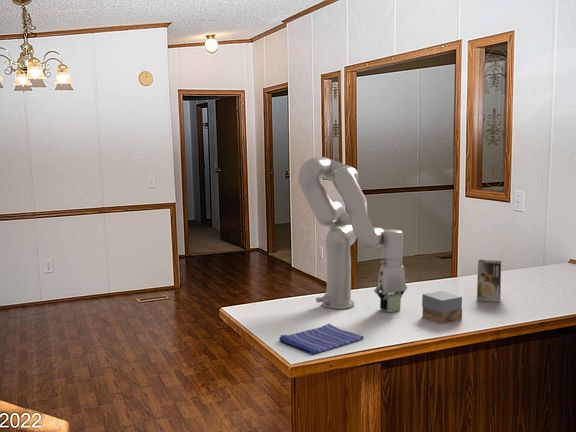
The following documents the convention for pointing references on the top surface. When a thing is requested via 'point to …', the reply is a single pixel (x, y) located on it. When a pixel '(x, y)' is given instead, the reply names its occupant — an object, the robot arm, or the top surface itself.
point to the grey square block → (442, 301)
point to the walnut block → (442, 315)
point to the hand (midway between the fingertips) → (390, 307)
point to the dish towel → (320, 339)
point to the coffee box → (489, 280)
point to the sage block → (392, 302)
